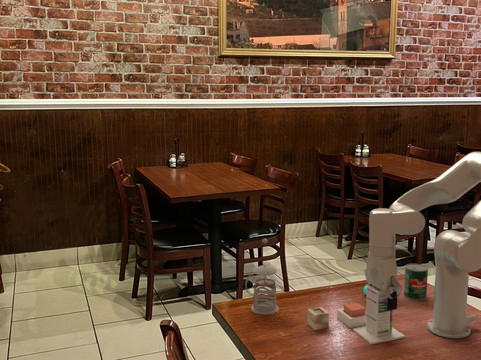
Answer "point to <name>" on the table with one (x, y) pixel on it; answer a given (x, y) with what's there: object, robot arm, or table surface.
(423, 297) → the canned tomato
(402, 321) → the table surface
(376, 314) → the syrup box
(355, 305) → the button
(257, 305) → the french press
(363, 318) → the button housing
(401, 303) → the table surface
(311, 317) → the letter cube
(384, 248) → the robot arm
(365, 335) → the grey pad
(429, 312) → the table surface
